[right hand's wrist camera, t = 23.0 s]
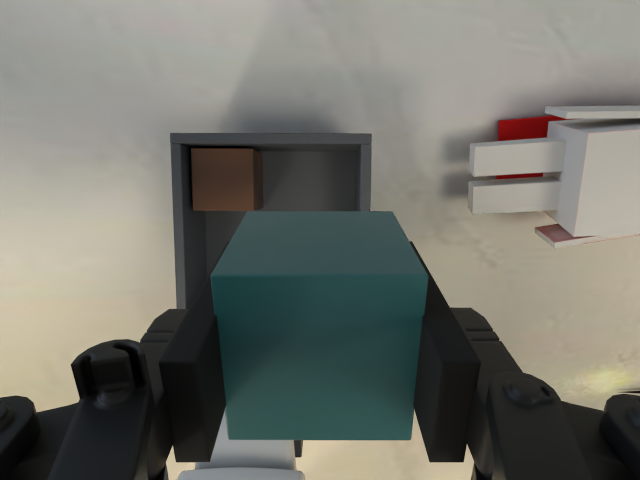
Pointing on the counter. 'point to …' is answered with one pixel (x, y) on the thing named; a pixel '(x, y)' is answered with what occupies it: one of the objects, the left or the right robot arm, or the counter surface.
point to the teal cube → (319, 326)
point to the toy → (564, 172)
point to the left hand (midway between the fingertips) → (273, 414)
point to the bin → (264, 192)
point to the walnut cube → (227, 179)
